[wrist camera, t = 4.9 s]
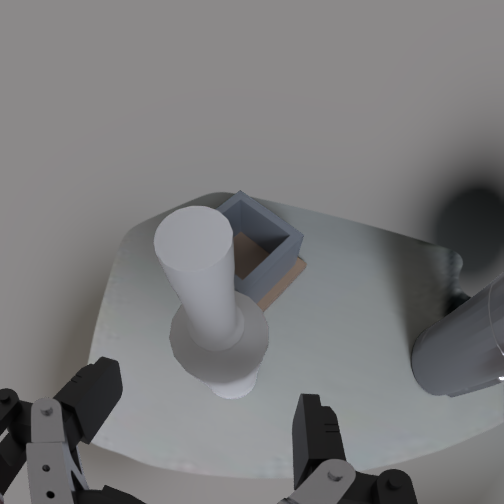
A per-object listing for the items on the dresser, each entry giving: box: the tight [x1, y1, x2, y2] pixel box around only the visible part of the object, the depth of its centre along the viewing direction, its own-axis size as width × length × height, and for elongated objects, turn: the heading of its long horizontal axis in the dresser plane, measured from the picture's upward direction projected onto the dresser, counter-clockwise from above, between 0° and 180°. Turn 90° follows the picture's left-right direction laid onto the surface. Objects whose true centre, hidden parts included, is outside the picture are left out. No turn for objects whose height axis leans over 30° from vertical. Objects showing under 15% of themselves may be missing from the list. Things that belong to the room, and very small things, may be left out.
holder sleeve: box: [215, 191, 307, 312], centre depth 32 cm, size 11×11×7 cm
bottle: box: [153, 206, 269, 399], centre depth 18 cm, size 5×5×25 cm
